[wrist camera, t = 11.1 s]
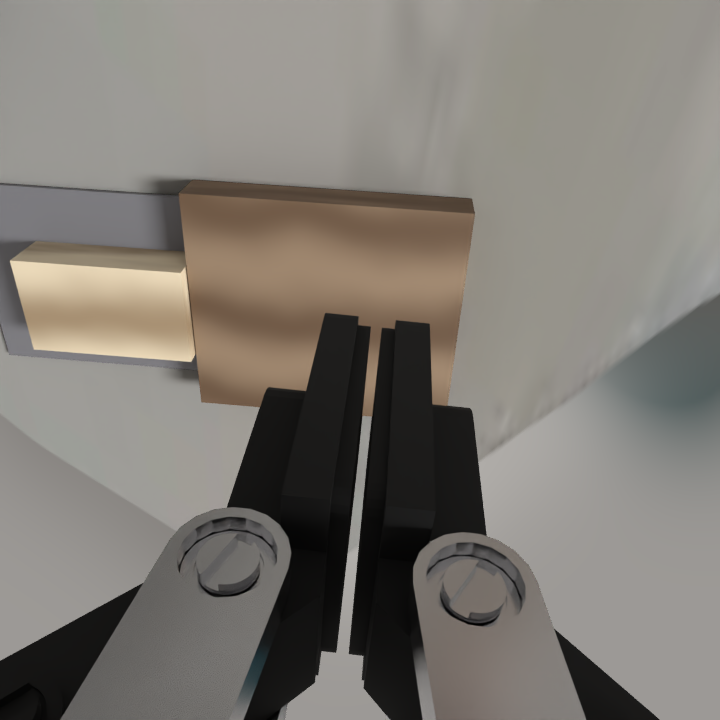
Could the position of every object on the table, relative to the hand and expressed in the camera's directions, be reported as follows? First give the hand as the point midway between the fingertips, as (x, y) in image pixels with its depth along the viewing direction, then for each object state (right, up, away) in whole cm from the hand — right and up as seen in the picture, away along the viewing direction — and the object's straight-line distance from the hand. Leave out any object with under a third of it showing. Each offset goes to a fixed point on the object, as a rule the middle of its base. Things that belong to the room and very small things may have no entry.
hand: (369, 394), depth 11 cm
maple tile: (-15, +5, +30) cm, 34 cm away
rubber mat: (-17, +6, +30) cm, 35 cm away
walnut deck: (-2, +4, +30) cm, 30 cm away
